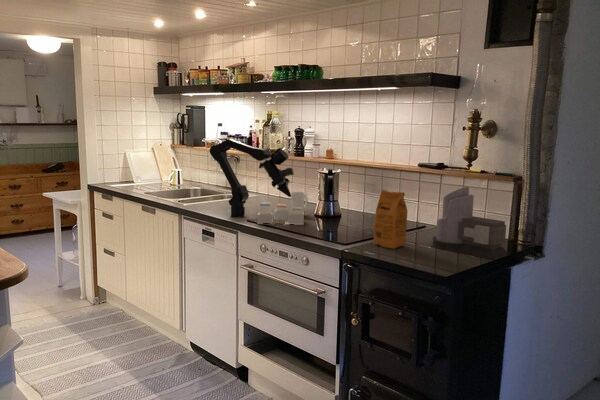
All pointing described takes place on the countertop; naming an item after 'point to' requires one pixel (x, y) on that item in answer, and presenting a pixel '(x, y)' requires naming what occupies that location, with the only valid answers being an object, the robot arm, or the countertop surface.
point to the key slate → (265, 208)
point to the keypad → (281, 217)
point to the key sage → (296, 210)
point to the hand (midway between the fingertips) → (290, 196)
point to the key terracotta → (281, 207)
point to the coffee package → (390, 220)
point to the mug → (298, 200)
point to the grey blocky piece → (468, 228)
